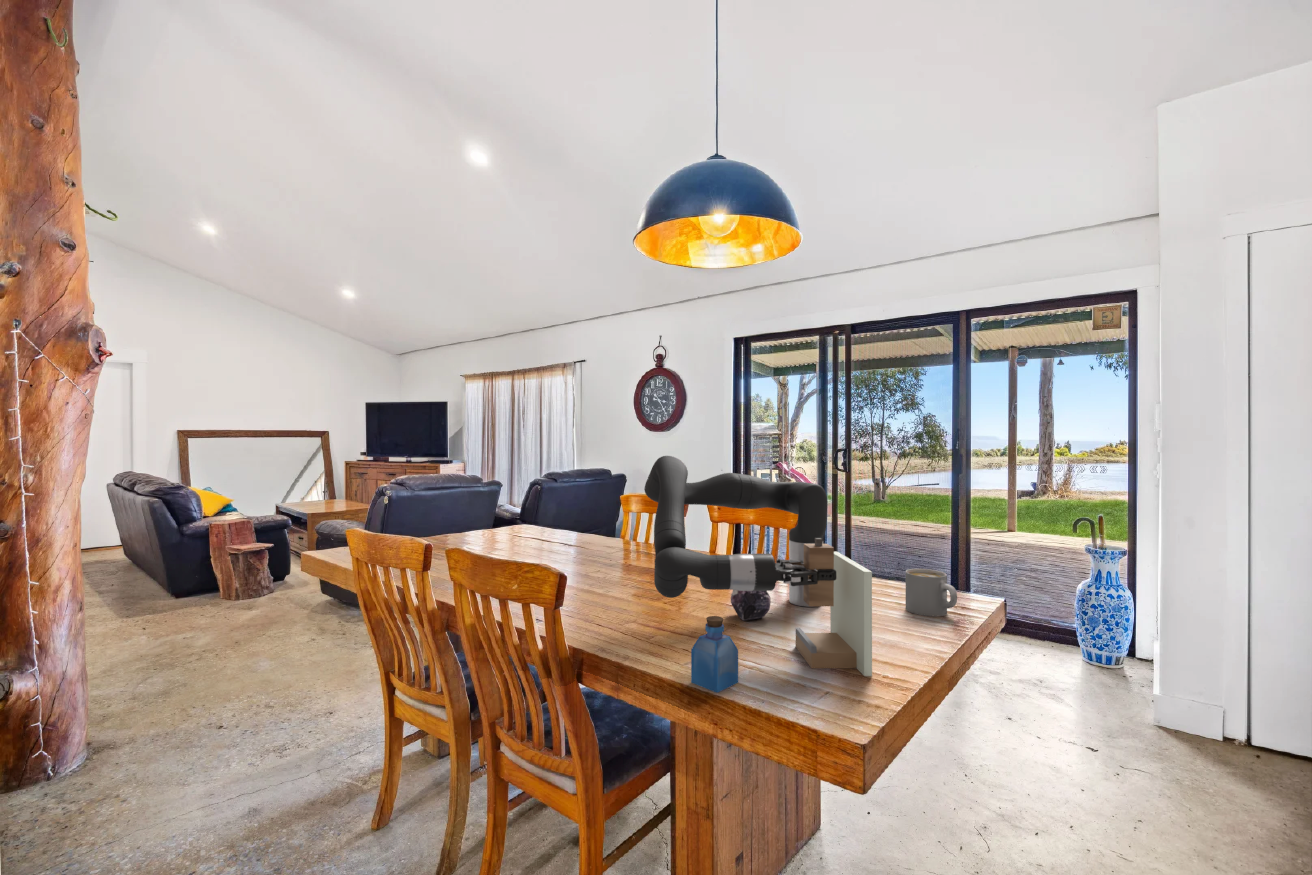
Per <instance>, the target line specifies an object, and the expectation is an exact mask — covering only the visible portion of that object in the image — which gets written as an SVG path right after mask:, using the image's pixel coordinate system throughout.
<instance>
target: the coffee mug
mask: <svg viewBox="0 0 1312 875" xmlns="http://www.w3.org/2000/svg"><path fill="white" fill-rule="evenodd" d="M948 592H949V594H950V599H949V600H950V601H948ZM957 602H958V592H957V590H956V588H955V587H954V586H953V585H951V584H948V575H947V573H946V572H944V571H941V570H936V569H928V568H910V569H906V570H905V610H906V611H907V612H908V613H912V614H915V615H918V616H924V617H942V616H943V617H944V616H946V615H948V614H947V613H948V609H952V608H955V606H956V604H957Z"/></svg>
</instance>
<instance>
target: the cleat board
mask: <svg viewBox="0 0 1312 875" xmlns="http://www.w3.org/2000/svg"><path fill="white" fill-rule="evenodd" d="M834 570H836V580H834V606H829V608H830V610H829V611H830V617H829V618H830V622H829V623H830V628H829V629H830V632H804V630H803V629H802V628H801V627H795V649H797V651H798V652H799V654H800V655H801V656H802V657H803V659H804V660H805V662H806V663H807V664H808V665H809V668H811V669H857V670H858V671H859V672H860V673H861V675H863V676H864V677H872V676H873V572H872V571H871V570H870V569H868V568H867V567H864V566H862V565H861V564H859V563H858V562H856V561H854V560H852V559H850V558H849V557H848V556H846V555H844V554H843V553H840V552H839V551H834Z"/></svg>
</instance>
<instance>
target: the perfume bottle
mask: <svg viewBox="0 0 1312 875" xmlns="http://www.w3.org/2000/svg"><path fill="white" fill-rule="evenodd" d="M705 620H706V623H705V626H704V627H705V631H706V633H705V634H702V635H700V636H699V637H698V638H697V639H696V641H695V643H694V645H693V646H692V648H691V651H690V653H691V655H690V656H691V657H690V660H691V662H690V664H691V665H690V666H691V670H690V671H691V672H690V674H691V675H690V677H691V678H690V681H691V684H694V685H697V686H699V687H701V688H704V689H707V690H709V691H712V692H713V693H716V694H717V693H720V692H722V691H724V690H726V689H729V688H730V687H733V686H734V685H736V684H738V683H739V648H738V647H737V646H736V643H735V642H734V641H733V640H732V638H731V636H729V635H728V634H727V635H726V634H723V633H724V632H725V624H723V621H724V617H722V616H719V615H718V616H717V615H710V616H706V618H705Z"/></svg>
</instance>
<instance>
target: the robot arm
mask: <svg viewBox="0 0 1312 875" xmlns="http://www.w3.org/2000/svg"><path fill="white" fill-rule="evenodd" d="M688 475H689V471H688V467H687V466H686V464H685V462H683V461H682V460H681V459H679V458H677V457H675V456H672V455H663V456H660V457H658V458H657V460H655V462H654V464H653V465H652V468H650V472H649V474H648V477H647V480H646V481H645V484H644V494H645V495H646V496H647V498H649V499H650V500H651V501H653V502H656V503H657V508H656V513H655V518H654V524H653V543H654V544H653V545H654V552H655V554H654V556H655V559H654V575H653V576H654V578H653V580H654V582H653V583H654V587H655V589H656V591H657V592H658V593H659V594H660V595H662V596H663V597H665V598H670V599H672V598H673V599H674V598H676V597H680V596H681V595H682V594H683V593H684V592H685V591H686V589H687V587H688V581H689V576H692V577H695V578H698V579H699V582H700V585H701V587H702V588H703V589H705V590H709V591H710V590H712V591H713V590H717V591H718V590H720V591H722V590H723V591H724V590H725V591H727V590H730V591H731V590H732V591H733V590H738V591H767V592H768V591H769V592H771V591H774V590H775V588H776V583H777V582H782V583H783V584H786V585H787V584H788V594H789V596H788V598H789V599H788V601H789V603H791V604H792V605H795V606H799V607H816V606H809V605H808V604H807V603H806V602H805V601H804V600H803V590H804V585H812V584H818V581H832V580H836V570H834V569H816V568H814V569H809V568H806V566H804V544H815V538H821V539H822V544H824V536H825V533H826V530H827V525H828V524H827V522H828V521H827V520H828V497H827V496H828V495H827V493H826V492H827V491H826V490H825V488H824V487H823V486H822V485H820V484H817V483H813V482H804V481H794V482H793V481H783V482H782V481H771V480H767V479H764V478H762V477H759V476H754V475H749V474H743V473H735V472H724V473H721V474H718V475H714V476H712V477H709V478H707V479H704V480H701V481H695V482H687V481H688ZM686 505H700V506H713V507H714V506H715V507H724V508H731V509H740V510H759V509H765V508H766V509H767V508H768V509H775V510H780V511H784V512H788V513H791V514H794V515H797V524H796V526H794V527H793V528H791V529H790V530H789V531H788V532H789V533H788V537H789V538H788V557H789V558H788V559H780V558H778V559H775V557H774V556H773V554H771V553H735V554H711V555H710V554H706V553H702V552H699V551H694V550H691V549H686V547H687V539H686V526H685V525H686V524H685V506H686ZM808 575H811V578H808Z"/></svg>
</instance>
